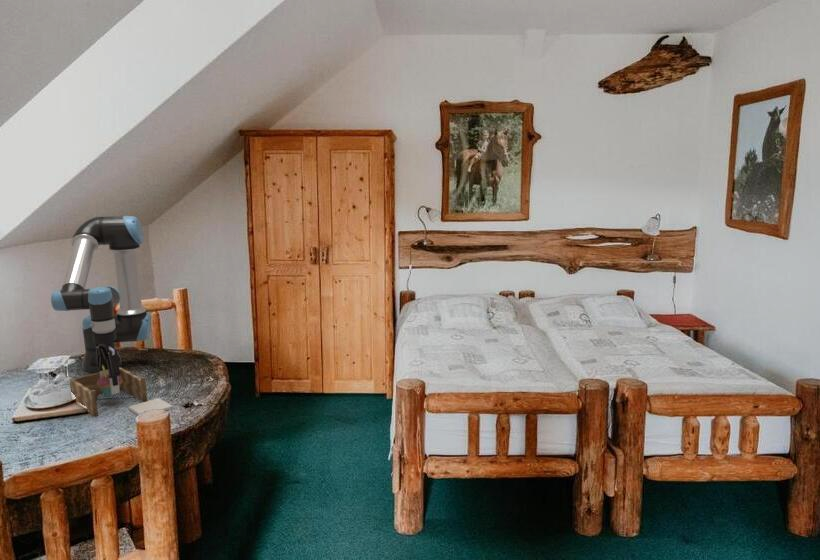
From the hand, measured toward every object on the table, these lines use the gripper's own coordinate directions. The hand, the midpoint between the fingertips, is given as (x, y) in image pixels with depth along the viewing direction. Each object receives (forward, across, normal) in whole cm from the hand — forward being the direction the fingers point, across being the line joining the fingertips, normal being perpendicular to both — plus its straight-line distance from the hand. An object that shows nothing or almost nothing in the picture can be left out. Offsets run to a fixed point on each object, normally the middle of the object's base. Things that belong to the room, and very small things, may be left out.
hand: (110, 390), depth 222 cm
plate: (+4, +17, +7) cm, 19 cm away
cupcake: (+1, 0, 0) cm, 1 cm away
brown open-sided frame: (+5, -2, 0) cm, 5 cm away
